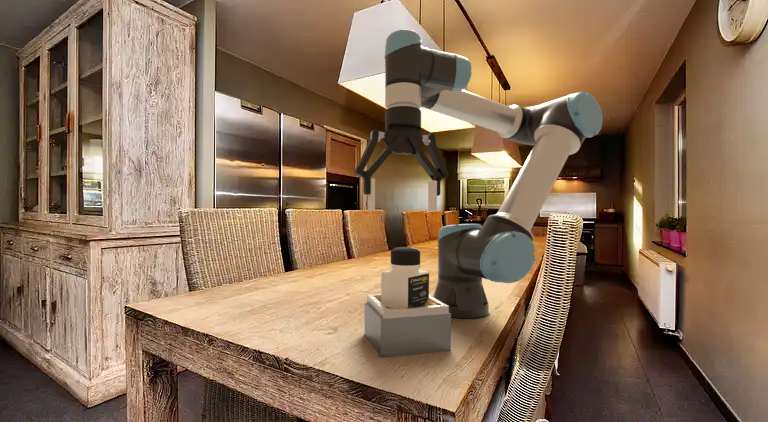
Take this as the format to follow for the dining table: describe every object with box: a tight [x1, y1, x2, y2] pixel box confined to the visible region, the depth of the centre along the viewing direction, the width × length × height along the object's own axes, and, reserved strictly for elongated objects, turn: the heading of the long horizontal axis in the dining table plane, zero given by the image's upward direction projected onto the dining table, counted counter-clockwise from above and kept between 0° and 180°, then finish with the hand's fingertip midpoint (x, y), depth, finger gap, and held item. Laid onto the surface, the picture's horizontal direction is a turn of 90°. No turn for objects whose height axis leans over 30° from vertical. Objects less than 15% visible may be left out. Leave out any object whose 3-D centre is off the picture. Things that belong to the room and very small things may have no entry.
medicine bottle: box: [380, 246, 430, 308], centre depth 74 cm, size 7×7×12 cm
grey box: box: [364, 293, 452, 358], centre depth 74 cm, size 14×13×8 cm
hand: (402, 211), depth 76 cm, fingers open, 13 cm apart
